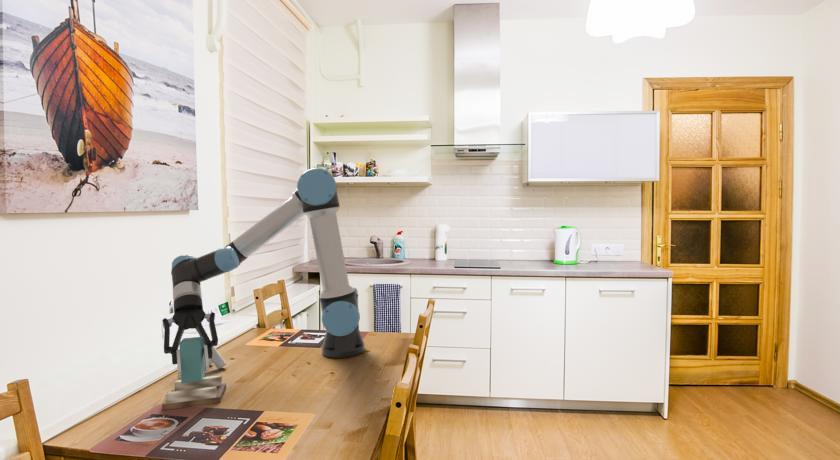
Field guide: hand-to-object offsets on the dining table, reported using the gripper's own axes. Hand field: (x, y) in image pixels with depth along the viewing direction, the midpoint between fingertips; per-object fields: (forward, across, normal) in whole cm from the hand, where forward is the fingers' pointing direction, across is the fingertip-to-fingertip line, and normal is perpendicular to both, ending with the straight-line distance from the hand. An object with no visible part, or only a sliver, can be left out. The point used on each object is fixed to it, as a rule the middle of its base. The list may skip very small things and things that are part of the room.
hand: (193, 371), depth 118 cm
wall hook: (-13, -6, -26) cm, 30 cm away
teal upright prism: (0, 0, -5) cm, 5 cm away
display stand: (+4, 0, -9) cm, 9 cm away
